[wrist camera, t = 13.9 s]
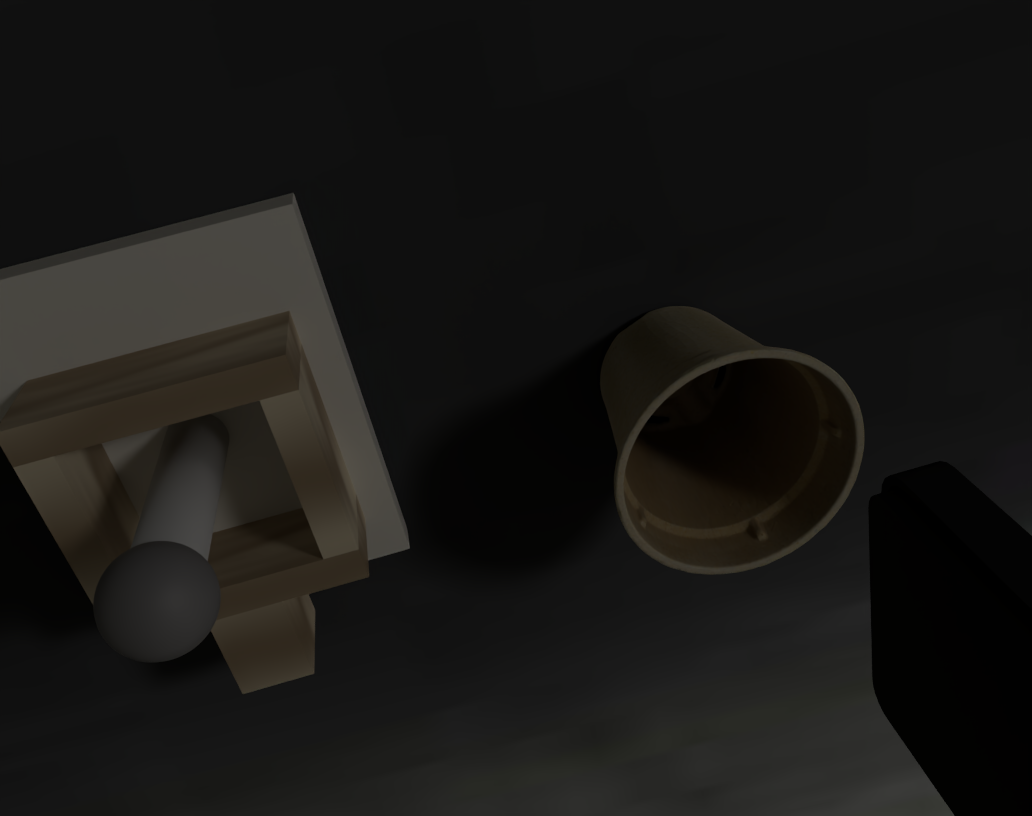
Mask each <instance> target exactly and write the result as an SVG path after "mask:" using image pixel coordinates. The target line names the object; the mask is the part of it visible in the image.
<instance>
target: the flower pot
mask: <svg viewBox="0 0 1032 816" xmlns="http://www.w3.org/2000/svg"><path fill="white" fill-rule="evenodd" d="M723 365H726V373H725V376H724V379H723V381H722V382H721V383H720V385H719V386H718V387H714V385H715V381H716V378H717V374H718V371H719V367H721V366H723ZM600 387H601V394H602V398H603V401H604V404H605V406H606V410H607V413H608V416H609V420H610V424H611V428H612V431H613V435H614V439H615V443H616V447H617V451H618V456H617V461H616V466H615V472H614V495H615V502H616V506H617V510H618V513H619V516H620V519H621V521H622V524H623V525H624V527H625V529H626V531H627V533H628V534H629V536H630V537H631V539H632V540H633V541H634V542H635V543H636V545H637V546H638V547H640V549H641V550H643V551H644V552H645V553H646V554H647V555H649V556H650V557H651V558H653V559H655V560H657V561H658V562H660V563H662V564H663V565H665V566H668V567H671V568H674V569H678V570H683V571H685V572H689V573H698V574H727V573H735V572H742V571H746V570H749V569H754V568H756V567H760V566H764V565H766V564H769V563H770V562H773V561H775V560H777V559H779V558H781V557H783V556H785V555H787V554H789V553H791V552H793V551H794V550H795V549H797V548H799V547H800V546H801V545H803V544H804V543H806V542H807V541H809V540H810V539H811V538H812V537H813V536H814V535H816V534H817V533H818V532H819V531H820V530H821V529H822V528H824V527H825V526H826V525H827V524H828V522H829V521H830V520H831V519H832V518H833V516H834V515H835V514H836V513H837V511H838V510H839V509H840V508H841V506H842V504H843V503H844V502H845V500H846V498H847V497H848V495H849V493H850V490H851V488H852V487H853V485H854V483H855V480H856V479H857V474H858V471H859V467H860V464H861V460H862V455H863V450H864V425H863V418H862V414H861V411H860V407H859V404H858V402H857V400H856V398H855V396H854V394H853V392H852V391H851V389H850V388H849V386H848V385H847V383H846V382H845V381H844V380H843V378H842V377H841V376H839V374H838V373H836V372H835V371H834V370H833V369H831V368H830V367H829V366H827V365H826V364H824V363H822V362H821V361H819V360H817V359H815V358H814V357H811V356H809V355H806V354H804V353H801V352H797V351H794V350H790V349H783V348H775V347H767V346H763V345H761V344H759V343H758V342H756V341H754V340H753V339H751V338H749V337H748V336H746V335H744V334H742V333H741V332H739V331H737V330H736V329H734V328H732V327H731V326H729V325H727V324H726V323H724V322H722V321H721V320H719V319H718V318H717V317H715V316H713V315H712V314H710V313H708V312H705V311H703V310H700V309H697V308H693V307H687V306H671V307H664V308H660V309H656V310H653V311H650V312H648V313H647V314H645V315H644V316H643V317H641V318H640V319H639V320H637V321H636V322H635V323H633V324H632V325H630V326H629V327H627V328H626V329H625V330H623V331H622V332H620V333H619V334H618V335H617V336H616V338H615V339H614V340H613V342H612V344H611V345H610V347H609V349H608V351H607V353H606V355H605V357H604V360H603V363H602V368H601V374H600ZM651 415H653V416H665V417H668V418H669V420H668V421H663V422H661V423H646V422H647V420H648V419H649V418H650V417H651Z"/></svg>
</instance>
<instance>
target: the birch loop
mask: <svg viewBox="0 0 1032 816" xmlns="http://www.w3.org/2000/svg"><path fill="white" fill-rule="evenodd" d="M256 401H260V403H261V406H262V408H263V411H264V413H265V416H266V418H267V421H268V423H269V426H270V428H271V431H272V433H273V436H274V438H275V440H276V443H277V445H278V448H279V450H280V453H281V455H282V458H283V460H284V463H285V465H286V468H287V470H288V473H289V475H290V478H291V480H292V483H293V485H294V488H295V490H296V493H297V495H298V498H299V500H300V503H301V505H302V507H303V508H300V509H296V510H293V511H289V512H286V513H282V514H279V515H275V516H271V517H268V518H264V519H261V520H257V521H253V522H250V523H246V524H243V525H239V526H236V527H232V528H228V529H225V530H221V531H218V532H214V533H213V534H212V540H211V545H210V551H209V556H208V563H209V564H210V565H211V566H212V568H213V570H214V571H215V574H216V576H217V579H218V581H219V586H220V591H221V602H220V609H219V613H218V616H217V619H216V621H215V623H214V625H213V627H212V629H211V632H212V634H213V636H214V638H215V640H216V642H217V644H218V646H219V648H220V650H221V652H222V654H223V656H224V658H225V660H226V662H227V664H228V666H229V668H230V670H231V672H232V674H233V675H234V677H235V679H236V681H237V683H238V685H239V687H240V689H241V691H242V693H243V694H245V693H248V692H252V691H255V690H259V689H262V688H266V687H269V686H273V685H276V684H280V683H283V682H286V681H290V680H293V679H297V678H300V677H304V676H307V675H311V674H314V651H315V609H314V606H313V604H312V602H311V599H310V597H309V594H310V593H314V592H317V591H321V590H324V589H328V588H331V587H335V586H338V585H342V584H345V583H349V582H353V581H356V580H360V579H363V578H367V577H369V568H368V552H367V537H366V522H365V517H364V514H363V511H362V508H361V506H360V503H359V500H358V497H357V495H356V492H355V489H354V486H353V484H352V481H351V478H350V475H349V473H348V470H347V467H346V464H345V462H344V459H343V456H342V453H341V451H340V448H339V445H338V442H337V440H336V437H335V434H334V431H333V429H332V426H331V423H330V420H329V418H328V415H327V412H326V409H325V407H324V404H323V401H322V398H321V396H320V393H319V390H318V387H317V385H316V382H315V379H314V376H313V374H312V371H311V368H310V365H309V363H308V360H307V357H306V354H305V352H304V349H303V346H302V343H301V341H300V338H299V335H298V332H297V330H296V327H295V324H294V321H293V319H292V316H291V313H290V311H286V312H282V313H279V314H275V315H271V316H267V317H264V318H260V319H256V320H252V321H249V322H245V323H241V324H237V325H234V326H230V327H226V328H222V329H219V330H215V331H211V332H207V333H204V334H200V335H196V336H192V337H189V338H185V339H181V340H177V341H174V342H170V343H166V344H162V345H159V346H155V347H151V348H148V349H144V350H140V351H136V352H133V353H129V354H125V355H121V356H118V357H114V358H110V359H106V360H103V361H99V362H95V363H91V364H88V365H84V366H80V367H76V368H73V369H69V370H65V371H61V372H58V373H54V374H50V375H46V376H43V377H39V378H35V379H31V380H28V381H26V383H25V384H24V386H23V387H22V389H21V390H20V392H19V394H18V395H17V397H16V398H15V400H14V401H13V403H12V405H11V406H10V408H9V409H8V411H7V413H6V414H5V416H4V417H3V419H2V420H1V422H0V446H1V448H2V449H3V451H4V453H5V454H6V456H7V458H8V460H9V461H10V463H11V465H12V466H13V468H14V470H15V472H16V473H17V475H18V477H19V479H20V480H21V482H22V484H23V485H24V487H25V489H26V491H27V492H28V494H29V496H30V497H31V499H32V501H33V503H34V504H35V506H36V508H37V509H38V511H39V513H40V515H41V516H42V518H43V520H44V521H45V523H46V525H47V527H48V528H49V530H50V532H51V534H52V535H53V537H54V539H55V540H56V542H57V544H58V546H59V547H60V549H61V551H62V552H63V554H64V556H65V558H66V559H67V561H68V563H69V564H70V566H71V568H72V570H73V571H74V573H75V575H76V576H77V578H78V580H79V582H80V583H81V585H82V587H83V588H84V590H85V592H86V594H87V595H88V597H89V599H90V601H91V602H92V604H93V601H94V595H95V590H96V587H97V584H98V582H99V580H100V578H101V576H102V574H103V573H104V571H105V570H106V568H107V567H108V566H109V565H110V563H111V562H112V561H113V560H115V559H116V558H117V557H118V556H119V555H120V554H122V553H123V552H125V551H127V550H128V549H130V548H131V545H132V542H133V539H134V536H135V532H136V529H137V526H138V522H139V519H140V517H139V515H138V513H137V511H136V509H135V507H134V506H133V504H132V502H131V500H130V498H129V496H128V494H127V492H126V490H125V488H124V486H123V484H122V482H121V480H120V478H119V476H118V475H117V473H116V471H115V469H114V467H113V465H112V463H111V461H110V459H109V457H108V455H107V453H106V451H105V449H104V447H103V445H102V444H101V443H105V442H109V441H112V440H116V439H120V438H123V437H127V436H131V435H134V434H138V433H142V432H145V431H149V430H153V429H156V428H160V427H164V426H168V425H171V424H175V423H179V422H182V421H186V420H190V419H193V418H197V417H201V416H204V415H208V414H212V413H215V412H219V411H223V410H226V409H230V408H234V407H237V406H241V405H245V404H248V403H252V402H256Z"/></svg>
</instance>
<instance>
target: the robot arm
mask: <svg viewBox="0 0 1032 816" xmlns="http://www.w3.org/2000/svg"><path fill="white" fill-rule="evenodd" d="M869 550H870V592H871V635H872V677H873V686H874V690H875V694H876V697H877V699H878V702H879V704H880V706H881V709H882V711H883V712H884V714H885V716H886V717H887V719H888V720H889V722H890V723H891V725H892V726H893V728H894V729H895V730H896V732H897V733H898V735H899V736H900V738H901V739H902V740H903V742H904V743H905V745H906V746H907V748H908V749H909V751H910V752H911V753H912V755H913V756H914V758H915V759H916V761H917V762H918V764H919V765H920V766H921V768H922V769H923V771H924V772H925V774H926V775H927V776H928V778H929V779H930V781H931V782H932V784H933V785H934V787H935V788H936V789H937V791H938V792H939V794H940V795H941V797H942V798H943V800H944V801H945V802H946V804H947V805H948V807H949V808H950V810H951V811H952V812H953V814H954V815H955V816H1032V536H1031V535H1030V534H1029V533H1028V532H1027V531H1026V530H1024V529H1023V528H1022V527H1021V526H1020V525H1019V524H1018V523H1016V522H1015V521H1014V520H1013V519H1012V518H1011V517H1010V516H1009V515H1007V514H1006V513H1005V512H1004V511H1003V510H1002V509H1001V508H1000V507H998V506H997V505H996V504H995V503H994V502H993V501H992V500H991V499H989V498H988V497H987V496H986V495H985V494H984V493H983V492H982V491H980V490H979V489H978V488H977V487H976V486H975V485H974V484H972V483H971V482H970V481H969V480H968V479H967V478H966V477H965V476H963V475H962V474H961V473H960V472H959V471H958V470H957V469H956V468H954V467H953V466H951V465H950V464H948V463H947V462H942V461H939V462H935V463H932V464H928V465H925V466H921V467H918V468H914V469H911V470H907V471H904V472H900V473H897V474H893V475H890V476H888V477H886V478H885V479H884V482H883V484H882V491H881V493H880V494H877V495H874V496H872V497H871V498H870V501H869Z"/></svg>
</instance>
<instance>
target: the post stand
mask: <svg viewBox="0 0 1032 816" xmlns="http://www.w3.org/2000/svg"><path fill="white" fill-rule="evenodd" d="M286 311H290V313H291V316H292V319H293V321H294V324H295V327H296V330H297V332H298V335H299V338H300V341H301V343H302V346H303V349H304V352H305V354H306V357H307V360H308V363H309V365H310V368H311V371H312V374H313V376H314V379H315V382H316V385H317V387H318V390H319V393H320V396H321V398H322V401H323V404H324V407H325V409H326V412H327V415H328V418H329V420H330V423H331V426H332V429H333V431H334V434H335V437H336V440H337V442H338V445H339V448H340V451H341V453H342V456H343V459H344V462H345V464H346V467H347V470H348V473H349V475H350V478H351V481H352V484H353V486H354V489H355V492H356V495H357V497H358V500H359V503H360V506H361V508H362V511H363V514H364V517H365V522H366V537H367V552H368V560H371V559H374V558H378V557H381V556H385V555H389V554H392V553H396V552H399V551H403V550H406V549H410V546H409V539H408V531H407V527H406V524H405V521H404V518H403V515H402V512H401V509H400V506H399V503H398V500H397V497H396V494H395V491H394V488H393V485H392V482H391V479H390V477H389V474H388V471H387V468H386V465H385V462H384V459H383V456H382V453H381V450H380V447H379V444H378V441H377V438H376V435H375V432H374V429H373V426H372V423H371V420H370V417H369V414H368V412H367V409H366V406H365V403H364V400H363V397H362V394H361V391H360V388H359V385H358V382H357V379H356V376H355V373H354V370H353V367H352V364H351V361H350V358H349V355H348V352H347V349H346V347H345V344H344V341H343V338H342V335H341V332H340V329H339V326H338V323H337V320H336V317H335V314H334V311H333V308H332V305H331V302H330V299H329V296H328V293H327V290H326V287H325V284H324V281H323V279H322V276H321V273H320V270H319V267H318V264H317V261H316V258H315V255H314V252H313V249H312V246H311V243H310V240H309V237H308V234H307V231H306V228H305V225H304V222H303V219H302V216H301V214H300V211H299V208H298V205H297V202H296V199H295V196H294V193H291V194H287V195H283V196H279V197H275V198H271V199H268V200H264V201H260V202H256V203H252V204H248V205H245V206H241V207H237V208H233V209H229V210H225V211H222V212H218V213H214V214H210V215H206V216H202V217H198V218H195V219H191V220H187V221H183V222H179V223H175V224H172V225H168V226H164V227H160V228H156V229H152V230H149V231H145V232H141V233H137V234H133V235H129V236H126V237H122V238H118V239H114V240H110V241H106V242H103V243H99V244H95V245H91V246H87V247H83V248H80V249H76V250H72V251H68V252H64V253H60V254H56V255H53V256H49V257H45V258H41V259H37V260H33V261H30V262H26V263H22V264H18V265H14V266H10V267H7V268H3V269H0V422H1V420H2V419H3V417H4V416H5V414H6V413H7V411H8V409H9V408H10V406H11V405H12V403H13V401H14V400H15V398H16V397H17V395H18V394H19V392H20V390H21V389H22V387H23V386H24V384H25V383H26V381H28V380H31V379H35V378H39V377H43V376H46V375H50V374H54V373H58V372H61V371H65V370H69V369H73V368H76V367H80V366H84V365H88V364H91V363H95V362H99V361H103V360H106V359H110V358H114V357H118V356H121V355H125V354H129V353H133V352H136V351H140V350H144V349H148V348H151V347H155V346H159V345H162V344H166V343H170V342H174V341H177V340H181V339H185V338H189V337H192V336H196V335H200V334H204V333H207V332H211V331H215V330H219V329H222V328H226V327H230V326H234V325H237V324H241V323H245V322H249V321H252V320H256V319H260V318H264V317H267V316H271V315H275V314H279V313H282V312H286ZM101 444H102V445H103V447H104V449H105V451H106V453H107V455H108V457H109V459H110V461H111V463H112V465H113V467H114V469H115V471H116V473H117V475H118V476H119V478H120V480H121V482H122V484H123V486H124V488H125V490H126V492H127V494H128V496H129V498H130V500H131V502H132V504H133V506H134V507H135V509H136V511H137V513H138V515H139V517H140V519H139V522H138V526H137V529H136V532H135V536H134V539H133V542H132V545H131V548H130V549H128V550H127V551H125V552H123V553H122V554H120V555H119V556H118V557H117V558H116V559H115V560H113V561H112V562H111V563H110V565H109V566H108V567H107V568H106V570H105V571H104V573H103V574H102V576H101V578H100V580H99V582H98V584H97V587H96V590H95V595H94V601H93V611H94V618H95V622H96V625H97V628H98V630H99V632H100V634H101V635H102V637H103V638H104V640H105V641H106V642H107V643H108V644H109V645H110V646H111V647H112V648H113V649H114V650H115V651H117V652H118V653H120V654H122V655H124V656H126V657H128V658H130V659H133V660H137V661H142V662H163V661H168V660H172V659H175V658H178V657H180V656H182V655H184V654H186V653H188V652H189V651H191V650H193V649H194V648H195V647H196V646H198V645H199V644H200V643H201V642H202V641H203V640H204V639H205V638H206V636H207V635H208V634H209V632H210V631H211V629H212V627H213V625H214V623H215V621H216V619H217V616H218V613H219V609H220V602H221V591H220V586H219V581H218V579H217V576H216V574H215V571H214V570H213V568H212V566H211V565H210V564H209V563H208V556H209V551H210V545H211V540H212V534H213V533H214V532H218V531H221V530H225V529H228V528H232V527H236V526H239V525H243V524H246V523H250V522H253V521H257V520H261V519H264V518H268V517H271V516H275V515H279V514H282V513H286V512H289V511H293V510H296V509H300V508H303V507H302V505H301V503H300V500H299V498H298V495H297V493H296V490H295V488H294V485H293V483H292V480H291V478H290V475H289V473H288V470H287V468H286V465H285V463H284V460H283V458H282V455H281V453H280V450H279V448H278V445H277V443H276V440H275V438H274V436H273V433H272V431H271V428H270V426H269V423H268V421H267V418H266V416H265V413H264V411H263V408H262V406H261V403H260V401H256V402H252V403H248V404H245V405H241V406H237V407H234V408H230V409H226V410H223V411H219V412H215V413H212V414H208V415H204V416H201V417H197V418H193V419H190V420H186V421H182V422H179V423H175V424H171V425H168V426H164V427H160V428H156V429H153V430H149V431H145V432H142V433H138V434H134V435H131V436H127V437H123V438H120V439H116V440H112V441H109V442H105V443H101Z"/></svg>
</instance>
